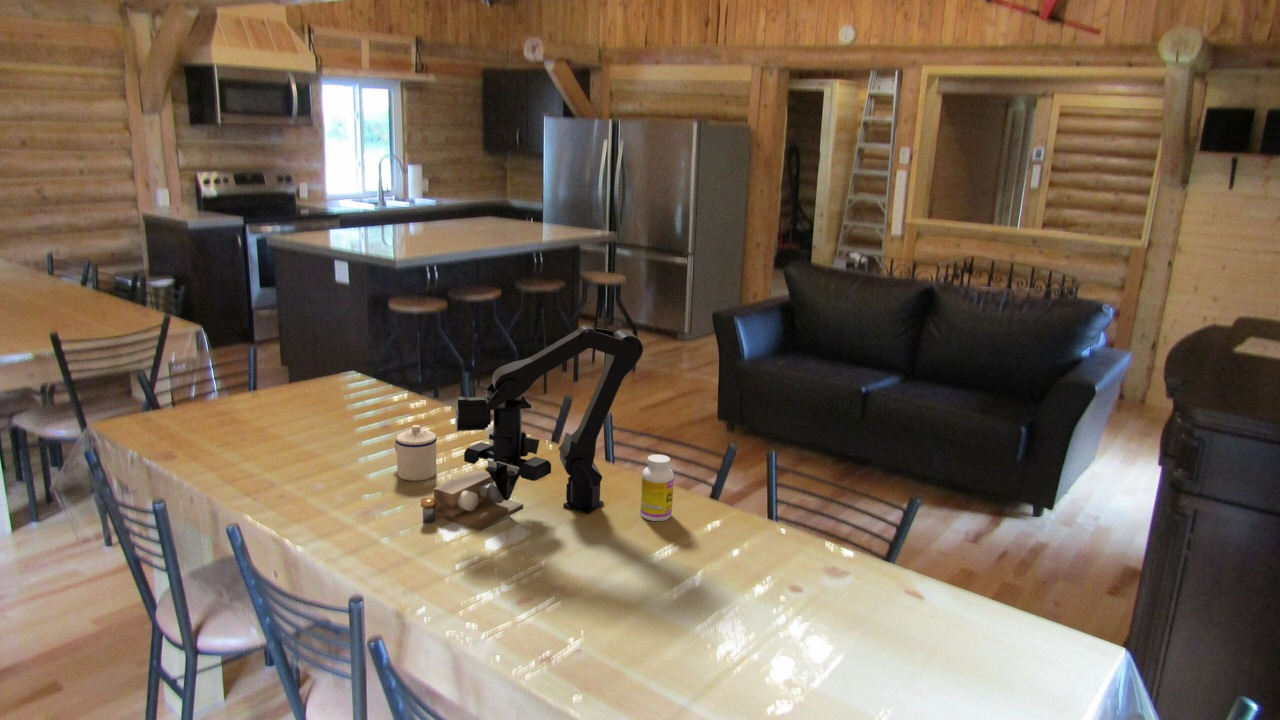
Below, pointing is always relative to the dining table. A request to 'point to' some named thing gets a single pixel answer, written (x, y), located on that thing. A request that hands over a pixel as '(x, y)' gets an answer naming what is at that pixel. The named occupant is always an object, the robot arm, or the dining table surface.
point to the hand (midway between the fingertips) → (506, 499)
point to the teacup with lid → (416, 454)
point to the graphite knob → (490, 492)
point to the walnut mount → (485, 508)
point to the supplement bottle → (657, 489)
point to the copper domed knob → (428, 509)
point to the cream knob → (467, 500)
